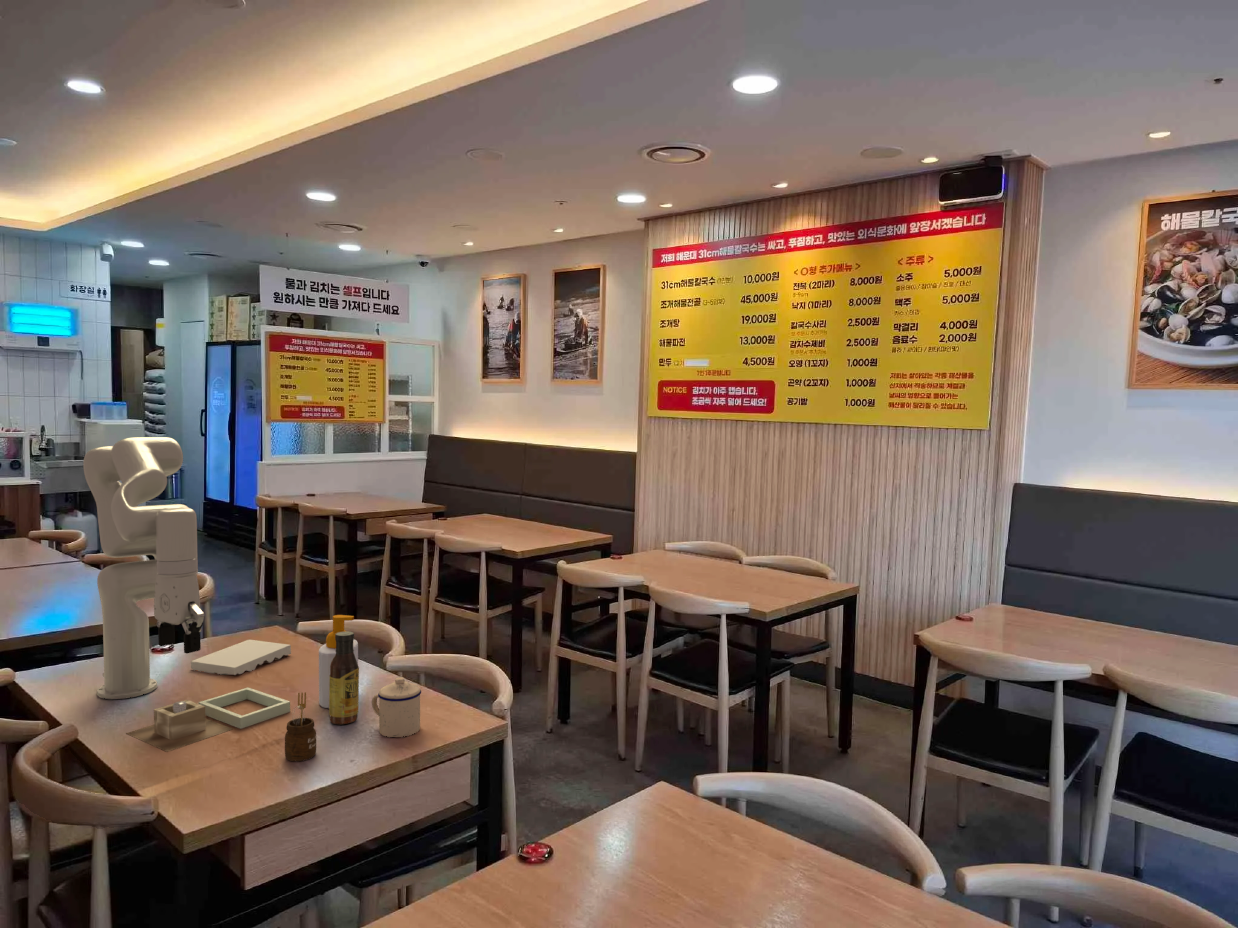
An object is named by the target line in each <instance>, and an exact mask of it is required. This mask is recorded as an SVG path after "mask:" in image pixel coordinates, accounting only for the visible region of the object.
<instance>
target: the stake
mask: <svg viewBox="0 0 1238 928" xmlns="http://www.w3.org/2000/svg"><path fill="white" fill-rule="evenodd" d="M172 704H173V713H174V714H175V713H179V712H182V711H185V710H186V702H185V701H184V700H182V701H181V700H180V701H176V702H174V703H172Z"/></svg>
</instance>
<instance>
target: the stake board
mask: <svg viewBox="0 0 1238 928" xmlns="http://www.w3.org/2000/svg"><path fill="white" fill-rule="evenodd" d="M205 721H206V730H203V731H200V732H197V733H194V734H191V735H188V736H185V737H182V738H179V739H176V740H173V741H172V740H170V739H168V738H165V737H163V736H161V735H158V734H156V733H154V724H152V725H151V724H150V725H147V726H145V727H141V728H138V729H135V730H131V731H129V732H126V733H125V734H126V735H128V736H131V737H133V738H135V739H138V740H139V741H142V742H144V743H145V744H148V745H150V746H152V747H155V748H157V749H159V750H162V751H164V752H166V753H168V752H171V751H174V750H177V749H180V748H183V747H186V746H189V745H192V744H194V743H198V742H201V741H204V740H206V739H210V738H212V737H215V736H218V735H221V734H223V733H226V732H227V733H228V732H230V731H233V730H234V728H232V727H229V726H227V725H224V724H222V723H219V722H216V721H213V720H211V719H208V718H206V717H205Z"/></svg>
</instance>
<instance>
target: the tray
mask: <svg viewBox="0 0 1238 928" xmlns="http://www.w3.org/2000/svg"><path fill="white" fill-rule="evenodd" d="M245 700H248V701H250V702H254V703H256V704H259V705H262V706H264V707H263V708H260V709H258V710H255V711H252V712H249V713H246V714H243V715H241V714H238V713H236V712H233V711H231V710H228V709H225V708H223V707H226V706H227V707H228V706H229V705H233V704H235V703H239V702H243V701H245ZM197 704H200V705H202V706H205V717H209V718H212V719H214V720H217V721H220V722H222V723H224V724H228V725H229V726H232V727H234V728H236V729H237V728H238V729H241V730H242V729H245V728H247V727H251V726H252V725H256V724H259V723H262V722H265V721H267V720H271V719H273V718H277V717H279V716H282V715H284V714H285V715H286V714H287V713H290V712H291V701H289V700H286V699H284V698H281V697H278V696H275V695H272V694H269V693H266V692H262V691H260V690H257V689H253V688H252V687H245V688H242V689H238V690H235V691H232V692H231V691H230V692H228V693H225V694H221V695H218V696H215V697H212V698H208V699H205V700H201V701H198V702H197ZM265 706H266V707H265Z"/></svg>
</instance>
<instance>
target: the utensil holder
mask: <svg viewBox="0 0 1238 928" xmlns="http://www.w3.org/2000/svg"><path fill="white" fill-rule="evenodd" d="M297 693H298V694H297V706H296V705H295V707H294V709H293V710H291V711H292V712H291V713H294V712H296V709H298V710H299V711H300V717H296V718H295V719H294V716H291V717H292V719H291V720H289V721H288V722H287V723H286V733H285V734H284V756H285V758H286V760H288V761H289V760H290V761H291V762H296V761H297V762H304V761H308V760H310V759H312V758H313V757H315V755H316V754H317V732H316V729H315V721H314V719H312V718H310V717H304V716H305V714H306V712H305V708H306V707H307V692H304V693H303V692H301V693H300V692H297ZM303 700H304V701H303ZM303 760H304V761H303Z"/></svg>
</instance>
